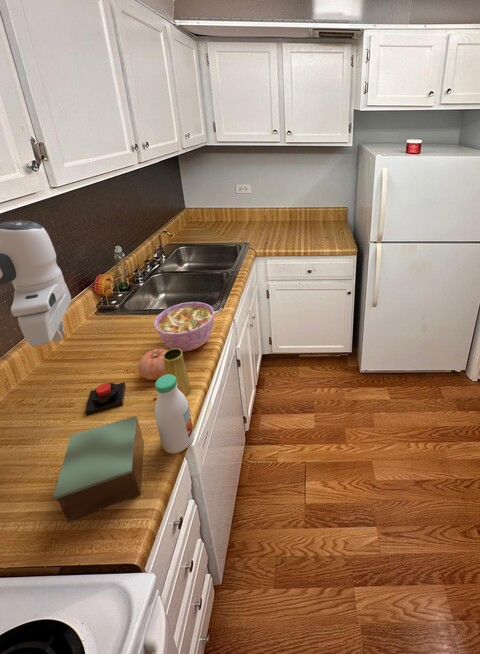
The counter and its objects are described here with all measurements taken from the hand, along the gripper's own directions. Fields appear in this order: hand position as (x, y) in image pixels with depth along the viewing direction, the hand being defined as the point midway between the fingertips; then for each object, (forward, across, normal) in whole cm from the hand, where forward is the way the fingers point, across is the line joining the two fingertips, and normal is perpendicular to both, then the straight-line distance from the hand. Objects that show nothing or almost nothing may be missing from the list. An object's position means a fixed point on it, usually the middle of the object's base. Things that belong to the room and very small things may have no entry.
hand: (59, 338), depth 82 cm
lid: (+18, +22, +8) cm, 29 cm away
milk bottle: (+27, +17, +23) cm, 40 cm away
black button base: (+27, -5, +4) cm, 28 cm away
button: (+24, -5, +4) cm, 25 cm away
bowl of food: (+27, -23, +28) cm, 45 cm away
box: (+27, +21, +8) cm, 35 cm away
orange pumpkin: (+27, -11, +18) cm, 34 cm away
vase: (+27, 0, +24) cm, 36 cm away
